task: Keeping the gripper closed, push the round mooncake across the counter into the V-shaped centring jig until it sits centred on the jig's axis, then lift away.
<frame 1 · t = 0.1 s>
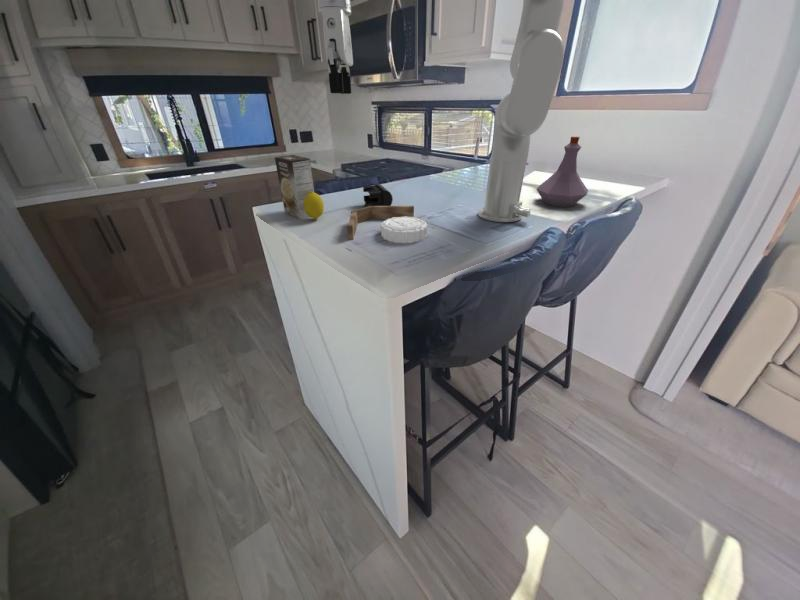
hand: (341, 93, 84), 31 cm above the table, tool pointing down, fingers open, 9 cm apart
lemon: (315, 220, 96), on the table
coffee box: (301, 214, 100), on the table
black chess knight: (378, 208, 106), on the table
mooncake: (404, 236, 85), on the table
centring jig: (380, 226, 90), on the table
flask: (558, 203, 110), on the table
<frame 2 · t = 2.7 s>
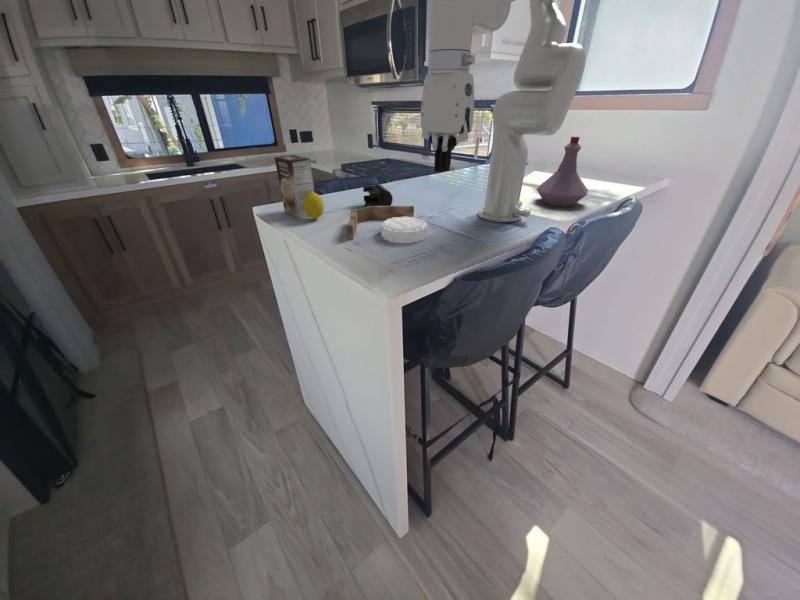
hand: (441, 170, 69), 17 cm above the table, tool pointing down, fingers closed
nothing on the table moved.
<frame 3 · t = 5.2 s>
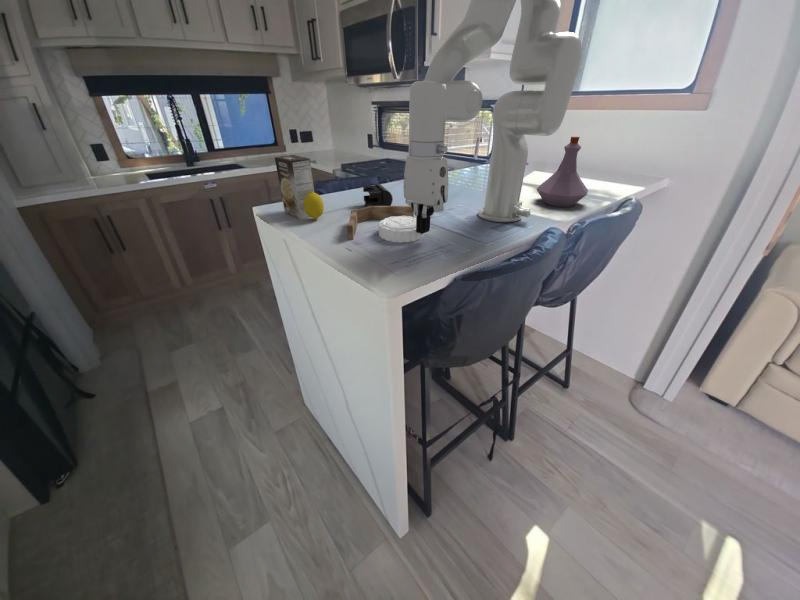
hand: (422, 231, 80), 2 cm above the table, tool pointing down, fingers closed
mooncake: (401, 235, 86), on the table, touching gripper
everything else where it was.
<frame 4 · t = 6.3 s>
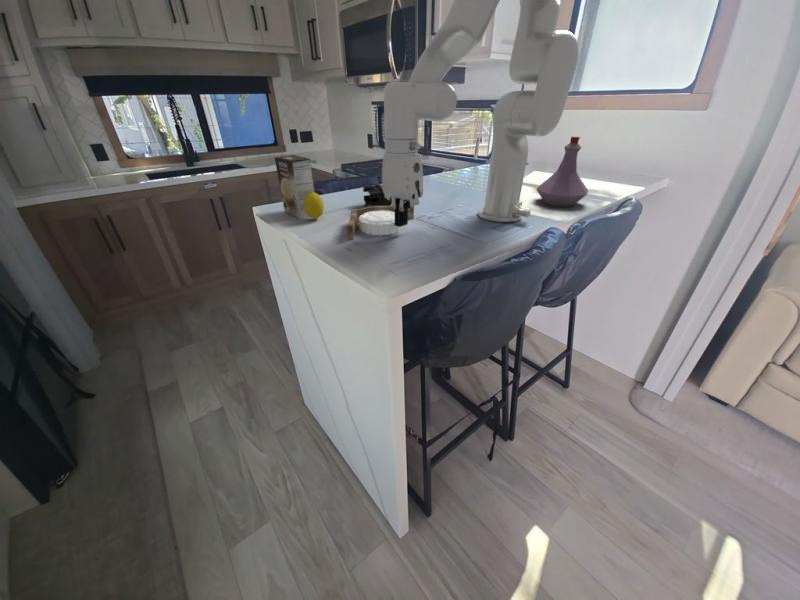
hand: (401, 224, 84), 2 cm above the table, tool pointing down, fingers closed
mooncake: (381, 228, 90), on the table
everything else where it was.
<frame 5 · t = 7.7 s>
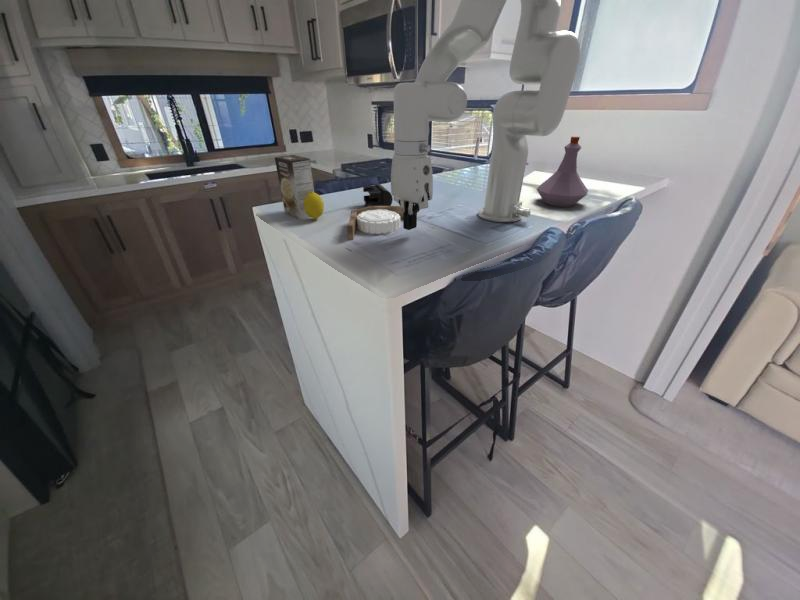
hand: (409, 227, 83), 2 cm above the table, tool pointing down, fingers closed
mooncake: (378, 227, 91), on the table
everything else where it was.
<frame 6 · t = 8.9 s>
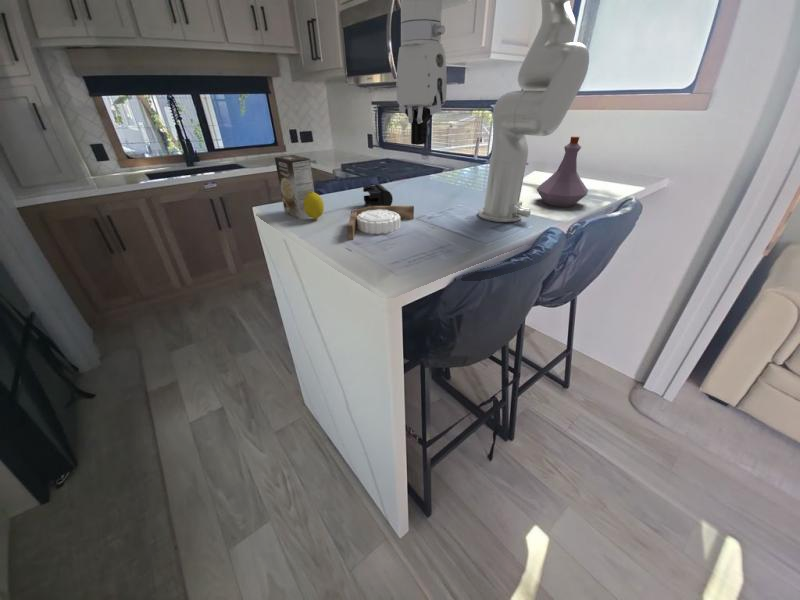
hand: (418, 143, 71), 22 cm above the table, tool pointing down, fingers closed
nothing on the table moved.
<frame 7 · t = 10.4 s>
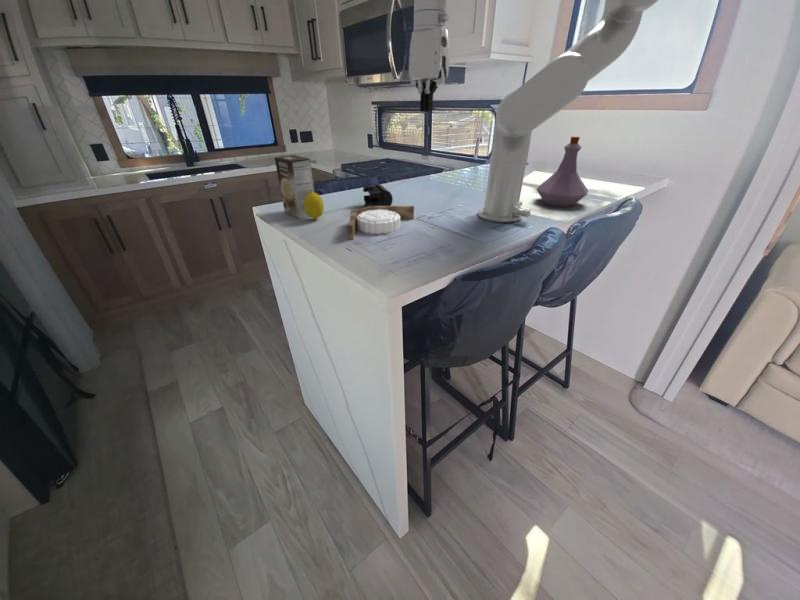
hand: (426, 111, 88), 27 cm above the table, tool pointing down, fingers closed
nothing on the table moved.
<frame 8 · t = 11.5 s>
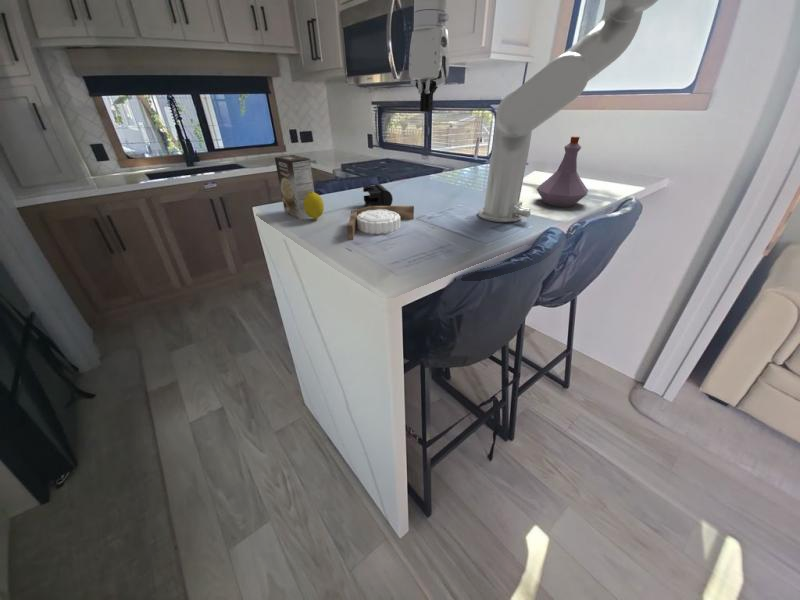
hand: (426, 111, 88), 27 cm above the table, tool pointing down, fingers closed
nothing on the table moved.
at the end: mooncake 0.6 cm from the centring jig (horizontally); mooncake tilted 0°; mooncake moved 9.6 cm from its start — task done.
